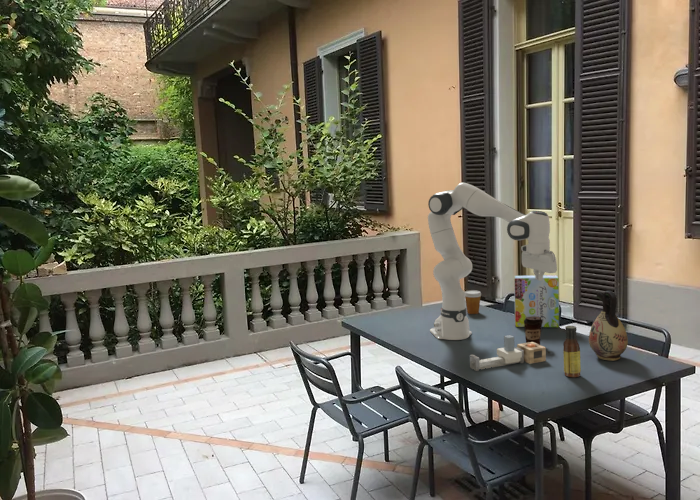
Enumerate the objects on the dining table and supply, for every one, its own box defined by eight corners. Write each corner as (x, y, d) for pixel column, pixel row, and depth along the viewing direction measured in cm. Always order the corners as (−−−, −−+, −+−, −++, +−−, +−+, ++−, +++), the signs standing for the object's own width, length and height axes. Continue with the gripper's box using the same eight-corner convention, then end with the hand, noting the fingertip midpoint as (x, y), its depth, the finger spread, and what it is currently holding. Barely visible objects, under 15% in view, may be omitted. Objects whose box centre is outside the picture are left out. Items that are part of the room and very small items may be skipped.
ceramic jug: (582, 353, 268) (582, 286, 263) (616, 350, 269) (617, 284, 264) (600, 365, 251) (601, 294, 246) (636, 363, 252) (638, 292, 247)
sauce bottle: (583, 374, 242) (583, 326, 239) (576, 379, 237) (577, 330, 234) (566, 371, 246) (567, 323, 243) (560, 375, 242) (560, 327, 239)
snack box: (558, 323, 315) (558, 274, 311) (559, 328, 306) (559, 278, 302) (514, 322, 320) (514, 274, 316) (514, 327, 312) (514, 277, 308)
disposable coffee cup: (471, 309, 350) (471, 289, 348) (485, 312, 343) (484, 291, 341) (460, 313, 344) (460, 292, 342) (474, 315, 337) (474, 294, 335)
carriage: (496, 358, 262) (496, 335, 260) (510, 356, 264) (510, 332, 262) (507, 364, 254) (507, 340, 252) (521, 361, 256) (521, 337, 255)
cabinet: (517, 357, 266) (517, 344, 265) (532, 354, 268) (532, 341, 267) (530, 363, 257) (530, 350, 256) (545, 361, 259) (546, 347, 259)
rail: (470, 367, 256) (469, 354, 255) (516, 359, 263) (516, 347, 262) (476, 371, 251) (476, 358, 250) (523, 362, 258) (523, 350, 258)
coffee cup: (543, 348, 276) (543, 320, 275) (524, 347, 278) (524, 320, 276) (541, 342, 285) (541, 315, 283) (523, 342, 287) (523, 315, 285)
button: (525, 355, 263) (525, 344, 263) (532, 354, 264) (532, 343, 264) (530, 357, 260) (530, 346, 260) (536, 356, 261) (536, 345, 261)
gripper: (560, 251, 254) (560, 283, 256) (531, 245, 273) (531, 275, 275) (548, 252, 252) (548, 285, 254) (519, 246, 271) (519, 277, 273)
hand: (538, 280), depth 265 cm, fingers closed
